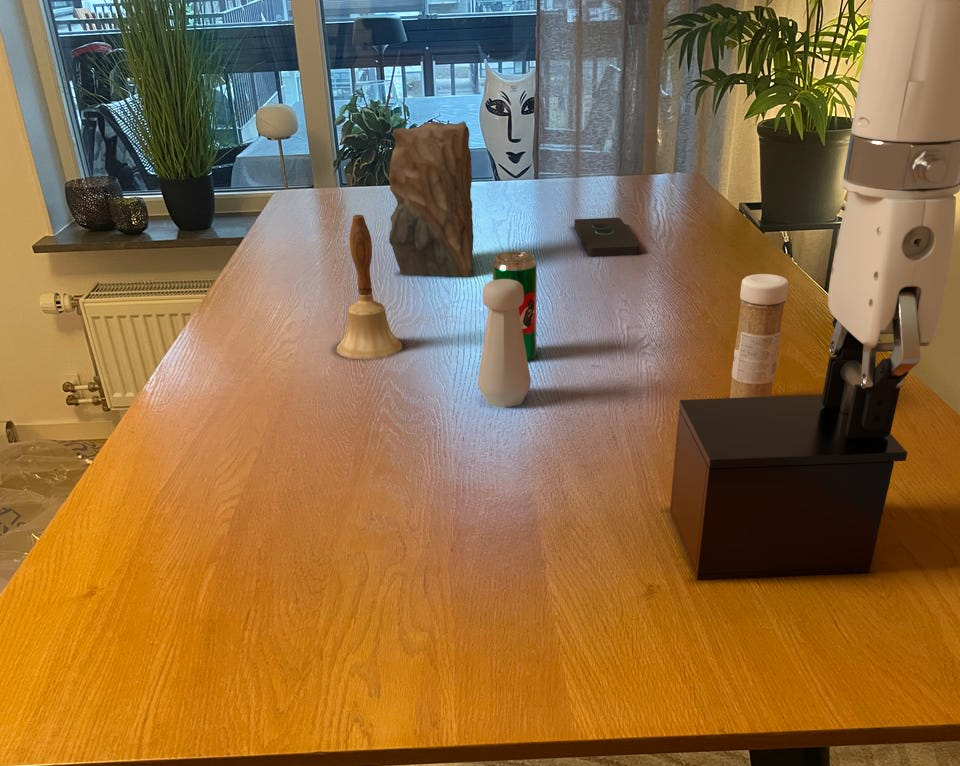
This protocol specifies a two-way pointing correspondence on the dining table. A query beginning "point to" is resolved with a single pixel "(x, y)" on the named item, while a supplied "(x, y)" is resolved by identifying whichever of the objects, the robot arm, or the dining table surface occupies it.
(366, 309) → the hand bell
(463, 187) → the owl
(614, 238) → the smart home device
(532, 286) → the soda can
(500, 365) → the salt shaker
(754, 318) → the sprinkles bottle
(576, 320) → the dining table surface
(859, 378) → the lid
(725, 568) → the box
